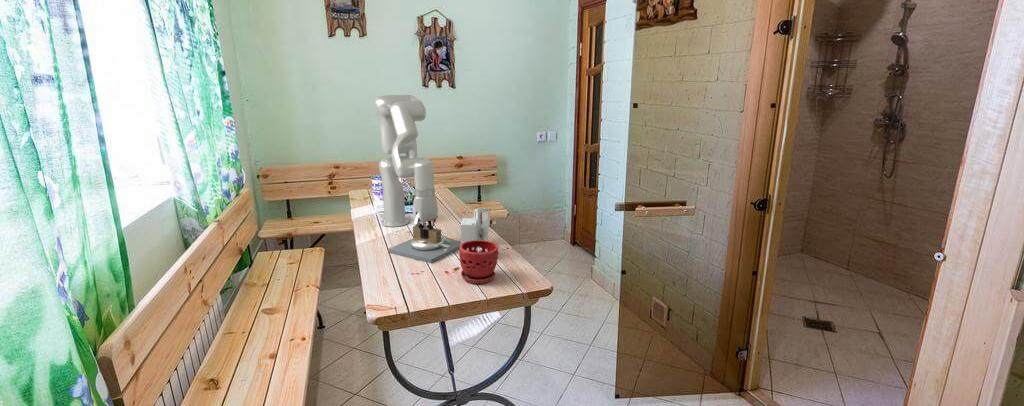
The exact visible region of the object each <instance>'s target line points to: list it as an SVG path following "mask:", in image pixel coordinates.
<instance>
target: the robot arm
mask: <svg viewBox="0 0 1024 406" xmlns="http://www.w3.org/2000/svg"><path fill="white" fill-rule="evenodd" d="M373 103H374V105H373V107H374V112H375V115H376V117H377V120H378V123H379V135H380V136H379V137H380V138H379V139H380V148H381V151H382V153H383V154H386V155H391V156H387V157H383V158H381V160H379V161H378V170H379V175H380V179H381V185H382V186H381V188H382V198H383V211H382V212H381V214H379V217H380V218H382V219H383V220H382V221H381V225H382V226H383V227H389V228H396V227H403V226H405V225H406V226H407V225H408V224H409V222H410V219H409V218H407V217H406V206H405V192H404V191H405V190H404V188H405V187H404V185H403V183H402V182H401V181H400V180H399V179H398V178H401V179H407V178H409V179H410V178H414V197H413V201H412V203H413V204H412V219H413V220H412V221H413V225H414V226H417V227H419V229H420V237H421V238H422V239H427V238H428V237H427V229H426V227H430V228H435V223H436V220H437V219H438V218H439V215H438V212H439V210H438V202H437V197H436V196H437V195H436V193H435V192H436V191H435V190H436V189H435V169H434V168H435V166H434V162H432V161H431V160H429V159H428V157H424V156H423V157H419V156H418V144H417V138H418V136H419V132H418V128H417V125H416V122H422V121H424V120H425V119H426V117H427V112H426V107H425V104H424V103H423V102H422V100H420V99H419V98H418V97H416V96H414V95H413V94H412V95H411V94H389V95H388V94H384V95H379V96H377V97H376V98H375V100H374V102H373ZM401 154H405V155H401Z"/></svg>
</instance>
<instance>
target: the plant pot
mask: <svg viewBox="0 0 1024 406" xmlns="http://www.w3.org/2000/svg"><path fill="white" fill-rule="evenodd" d="M473 247H474V250H472V248H473ZM477 247H478V248H480V249H481V251H478V252H477V251H476V248H477ZM467 248H468V249H469V250H468V251H466V250H467ZM458 251H459V262H460V266H461V269H462V270H461V271H460V272H461V273H460V276H461V278H462V279H463V280H464V281H465V282H468V283H470V284H471V283H472V284H484V283H488V282H490V281H492V280H493V279H494V278H495V276H496V272H495V269H496V268H497V264H498V260H499V259H498V257H499V246H498V244H496V243H495V242H493V241H489V240H488V241H485V240H472V241H467V242H464V243H462V244H461V245H460V249H459V250H458ZM463 259H464V260H463Z"/></svg>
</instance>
